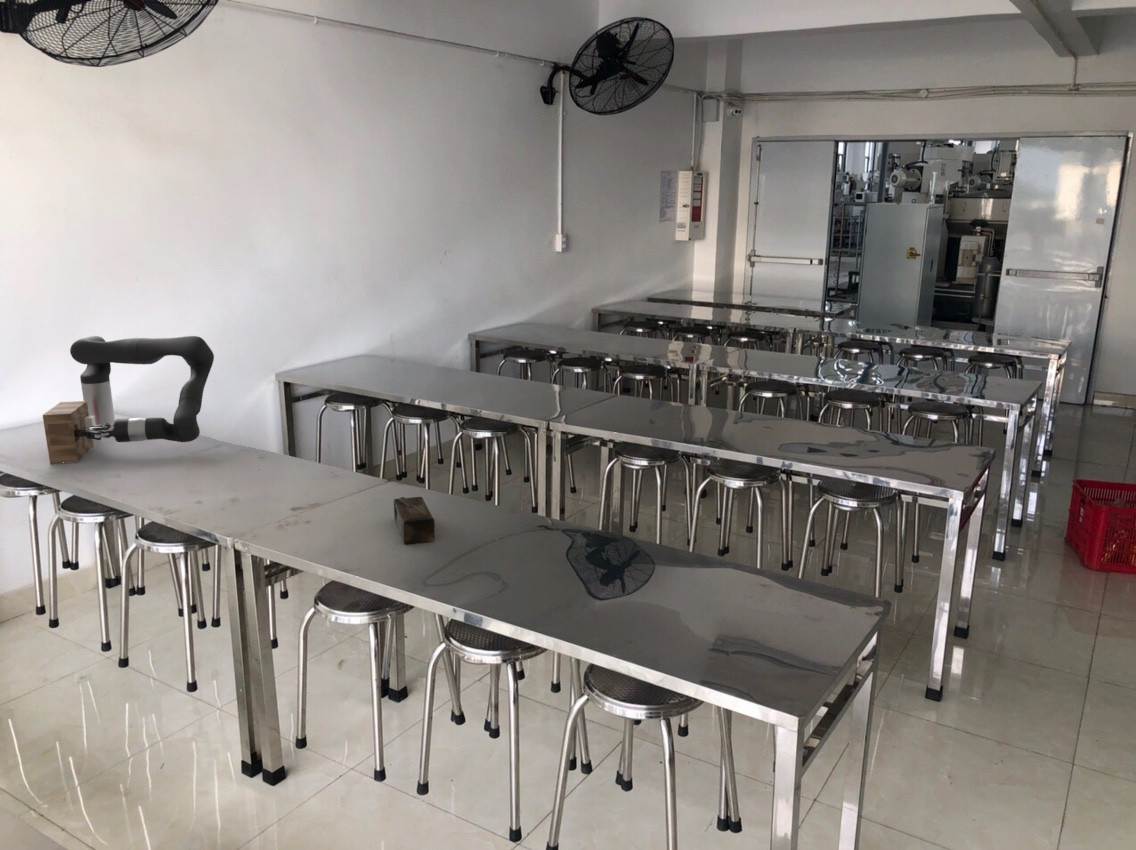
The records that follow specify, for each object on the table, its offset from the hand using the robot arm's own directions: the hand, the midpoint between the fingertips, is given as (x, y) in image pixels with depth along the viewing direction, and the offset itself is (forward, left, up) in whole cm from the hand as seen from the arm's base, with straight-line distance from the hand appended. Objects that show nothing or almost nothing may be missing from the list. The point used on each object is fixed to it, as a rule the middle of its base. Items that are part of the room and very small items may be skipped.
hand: (73, 433), depth 285 cm
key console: (-6, -3, -9) cm, 11 cm away
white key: (-12, 0, -2) cm, 12 cm away
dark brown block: (+86, +101, -9) cm, 133 cm away
